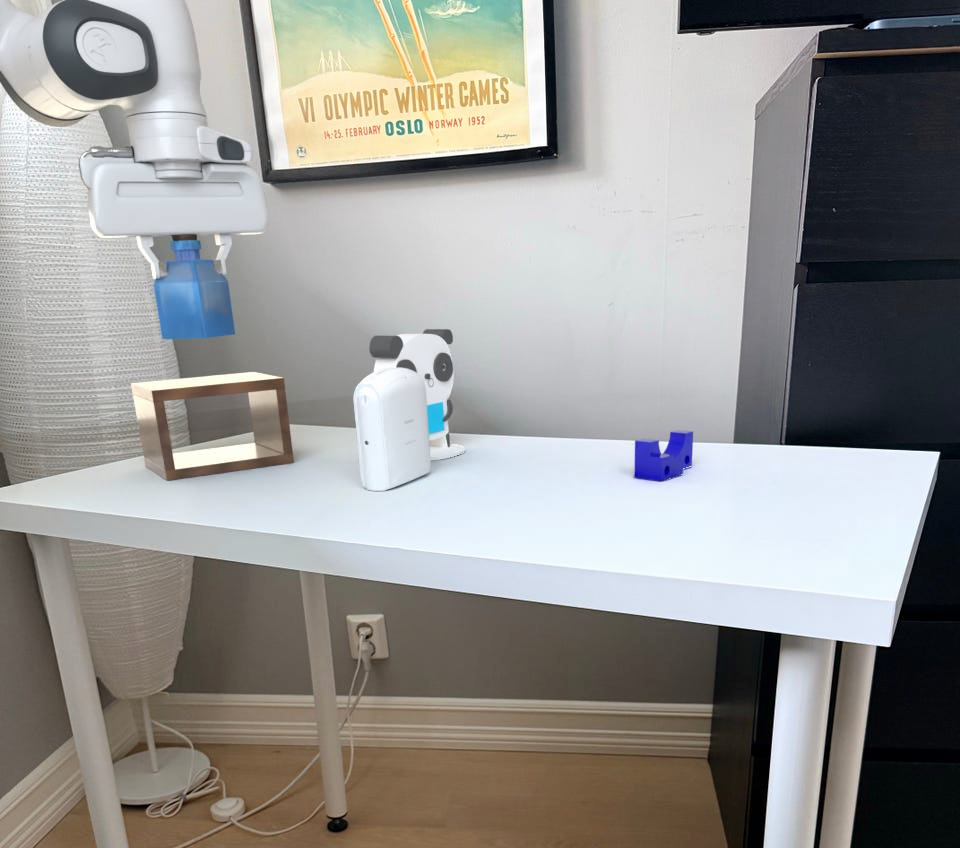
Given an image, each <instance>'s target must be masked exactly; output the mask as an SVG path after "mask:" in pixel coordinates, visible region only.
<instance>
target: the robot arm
mask: <svg viewBox="0 0 960 848" xmlns="http://www.w3.org/2000/svg"><path fill="white" fill-rule="evenodd" d="M200 62H201V61H200V57H199V50H198V44H197V39H196V34H195V28H194V25H193V21H192V17H191V13H190V10H189V8H188V5H187V2H186V0H59V1H57V2H54V3H53V4H52V5H50V6H49V7H47V8H45V9H44V10H43V11H41V12H40V13H38V14H37V15H34V14H31V13H28V12H26V11H25V10H23V9H21V8H20V7H18V6H17V5H16V4H15V3H14V2H12V1H11V0H0V84H1V86H2V88H3V89H4V91H5V92H6V93H7V95H8V97H9V98H10V99H11V100H12V102H13V103H14V104H15V106H17V107H18V109H20V110H21V112H23V113H24V114H25V115H27V116H28V117H29V118H31V119H33V120H35V121H36V122H38V123H41V124H43V125H46V126H49V127H54V128H65V127H70V126H73V125H76V124H78V123H80V122H81V121H82V120H84V119H85V118H86V117H88V116H89V115H91V114H93V113H95V112H97V111H100V110H102V109H104V108H105V107H107V106H109V105H112V106H119V107H121V108H122V110H123V111H124V114H125V118H126V119H125V120H126V125H127V131H128V137H129V144H130V146H110V147H109V146H108V147H106V146H105V147H104V146H101V145H100V146H99V145H96V146H95V145H94V146H90V147H89V150H85V151H84V152H83V153H81V155H80V156H79V159H78V169H79V175H80V179H81V182H82V184H83V186H84V187H85V188H86V189H87V202H88V215H89V223H90V228H91V230H92V231H93V232H94V233H95V234H96V235H97V236H98V237H99V238H136V244H137V248H138V249H139V251H140V253H141V254H142V255H143V256H144V258H145V259H146V260H147V262H148V263H150V269H151V275H152V279H153V280H156V279H162V278H166V277H167V276H168V272H167V263H166V262H163V261H160V260H159V259H158V258H157V256H156V254H155V253H154V252H153V250H152V249H151V247H154V246H155V245H154V243H155V242H154V237H172V236H171V235H182V234H197V236H214V241H215V245H216V246H219V249H218V252H217V255H216V257H215V260H214V259H211V260H212V263H213V266H214V267H215V270H216V271H217V272H218V273H219V274H220V275H222V276H225V277H226V276H227V266H226V260H227V258H228V256H229V253H230V250H231V248H232V246H233V240H232V235H233V236H234V235H260V234H264V233H265V232H266V231H267V229H268V227H269V225H270V216H269V215H270V214H269V209H268V203H267V198H266V194H265V193H266V192H265V188H264V185H263V181H262V179H261V177H260V174H259V172H258V171H257V170H256V169H255V168H254V167H252V166H251V165H249V164H250V163H252V161H253V159H254V150H253V146H252V145H251V144H250V143H249V142H247V141H245V140H242V139H239V138H237V137H234V136H231V135H229V134H226V133H223V132H220V131H218V130H216V129H213V128H211V127H209V122H208V115H207V112H206V109H205V107H204V103H203V100H202V95H201V81H202V71H201V63H200ZM89 155H90V156H89Z"/></svg>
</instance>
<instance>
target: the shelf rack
mask: <svg viewBox="0 0 960 848" xmlns="http://www.w3.org/2000/svg"><path fill="white" fill-rule="evenodd" d="M130 387H131V394H132V398H133V403H134V404H133V405H134V410H135V414H136V415H135V416H136V421H137V426H138V432H139V437H140V443H141V449H142V454H143V460H144V466H145V468H148V469H149V470H150V471H152V472H154V473H155V474H156V475H158V476H159V477H161V478H162V479H163V480H165V481H167V482H168V481H177V480H182V479H188V478H189V479H190V478H197V477H204V476H209V475H217V474H224V473H225V474H226V473H232V472H238V471H239V472H240V471H246V470H253V469H260V468H266V467H273V466H279V465H288V464H294V463H295V460H294V451H293V443H292V435H291V434H292V433H291V426H290V425H291V424H290V419H289V410H288V408H289V407H288V401H287V392H286V384H285V377H281V376H278V375H277V376H276V375H273V374H272V375H271V374H266V373H261V372H256V371H248V372H238V373H227V374H216V375H215V374H214V375H205V376H196V377H195V376H194V377H184V378H183V377H182V378H173V379H172V378H171V379H163V380H162V379H161V380H153V381H142V382H140V381H139V382H131V383H130ZM246 393H247V395H248V401H249V403H248V404H249V409H250V410H249V411H250V416H251V417H250V418H251V425H252V432H253V439H254V442H251V443H250V442H249V443H244V444H236V445H228V446H220V447H211V448H204V449H197V450H196V449H195V450H188V451H181V452H173V446H172V441H171V436H170V430H169V424H168V418H167V411H166V406H165V402H168V401H178V400H180V401H181V400H189V399H199V398H207V397H209V398H210V397H219V396H228V395H237V394H246Z"/></svg>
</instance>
